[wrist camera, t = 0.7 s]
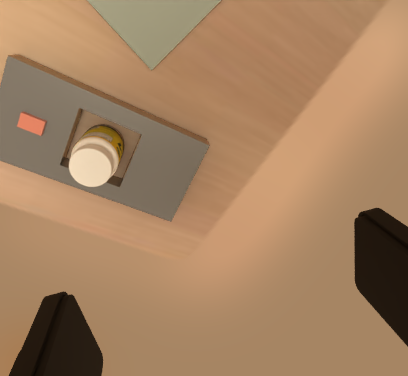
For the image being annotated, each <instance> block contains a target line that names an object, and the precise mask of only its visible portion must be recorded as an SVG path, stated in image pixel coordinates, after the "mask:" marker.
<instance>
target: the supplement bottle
mask: <svg viewBox="0 0 408 376" xmlns="http://www.w3.org/2000/svg"><path fill="white" fill-rule="evenodd" d="M123 150H124V141H123V138H122V136H121V134H120V133H119V132H118V131H117V130H116V129H115V128H113V127H111V126H108V125H96V126H93V127H91V128H90V129H89V130H88V131H87V132H86V133H85V134H84V135H83V136H82V137H81V139H80V140H79V141H78V142H77V143H76V145H75V146H74V148H73V150H72V153H71V158H70V161H69V171H70V173H71V175H72V177H73V178H74V179H75V180H76V181H77V182H78V183H80V184H82V185H84V186H88V187H97V186H100V185H102V184H104V183H105V182H107V181H108V179H109V178H110V177H111V176H112V175H113V174H114V173H115V172H116V170H117V168H118V165H119V162H120V159H121V156H122V154H123Z"/></svg>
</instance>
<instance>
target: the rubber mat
mask: <svg viewBox="0 0 408 376" xmlns="http://www.w3.org/2000/svg"><path fill="white" fill-rule="evenodd" d="M87 1H88V2H89V3H90V4H91V5H92V6H93V7H94V8H95V9H96V11H97V12H98V13H99V14H100V15H101V16H102V17H103V18H104V19H105V20H106V21H107V22H108V24H109V25H110V26H111V27H112V28H113V29H114V30H115V31H116V32H117V33H118V34H119V36H120V37H121V38H122V39H123V40H124V41H125V42H126V43H127V44H128V45H129V46H130V47H131V49H132V50H133V51H134V52H135V53H136V54H137V55H138V56H139V57H140V58H141V59H142V61H143V62H144V63H145V64H146V65H147V66H148V67H149V68H150V69H151V70H153V69H154V68H155V67H156V66H157V65H158V64H159V63H160V62H161V61H162V60H163V59H164V58H165V57H166V56H167V55H168V54H169V53H170V52H171V51H172V50H173V49H174V48H175V47H176V46H177V45H178V43H179V42H180V41H181V40H182V39H183V38H184V37H185V36H186V35H187V34H188V33H189V32H190V31H191V30H192V29H193V28H194V27H195V26H196V25H197V24H198V23H199V22H200V21H201V20H202V19H203V18H204V17H205V16H206V15H207V14H208V13H209V12H210V11H211V10H212V9H213V8H214V7H215V6H216V5H217V4H218V3H219V2H220V1H221V0H87Z"/></svg>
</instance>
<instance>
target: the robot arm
mask: <svg viewBox="0 0 408 376" xmlns="http://www.w3.org/2000/svg"><path fill="white" fill-rule="evenodd" d="M354 224H355V225H354V226H355V283H356V286H357V288H358V290H359V291H360V293H361V294H362V295H363V296H364V297H365V298H366V300H367V301H368V302H369V303H370V304H371V305H372V306H373V307H374V309H375V310H376V311H377V312H378V313H379V314H380V315H381V317H382V318H383V319H384V320H385V321H386V322H387V323H388V324H389V326H390V327H391V328H392V329H393V330H394V331H395V332H396V333H397V335H398V336H399V337H400V338H401V339H402V340H403V341H404V343H405V344H406V345H407V346H408V227H407V226H406V225H404V224H403V223H401V222H400V221H398V220H396V219H395V218H394V217H392V216H391V215H389V214H388V213H386V212H385V211H383V210H382V209H380V208H374V209H371V210H367V211H363V212H360V213H359V215H358V218H356V219H355V223H354ZM102 368H103V356H102V353H101V350H100V348H99V346H98V344H97V342H96V340H95V338H94V336H93V334H92V332H91V330H90V328H89V326H88V324H87V322H86V320H85V318H84V316H83V314H82V311H81V309H80V307H79V305H78V303H77V301H76V299H75V298H74V296H73V295H68V294H67V293H66V292H60V293H57V294H53V295H49V296H46V297H45V298H44V299H43V301H42V303H41V305H40V308H39V310H38V312H37V315H36V317H35V319H34V322H33V324H32V326H31V329H30V331H29V333H28V336H27V338H26V340H25V342H24V345H23V347H22V350H21V351H20V352H19V354H18V356H17V358H16V360H15V362H14V365H13V367H12V369H11V372H10V374H9V376H101V374H102Z"/></svg>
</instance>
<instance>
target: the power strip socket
mask: <svg viewBox="0 0 408 376" xmlns="http://www.w3.org/2000/svg"><path fill="white" fill-rule="evenodd" d="M82 109H83V110H85V111H88V112H90V113H92V114H95V115H97V116H99V117H102V118H104V119H106V120H109V121H111V122H113V123H116V124H118V125H120V126H123V127H125V128H127V129H130V130H132V131H134V132H137V133H139V134H141V136H140V138H139V140H138V143H137V145H136V148H135V150H134V152H133V155H132V157H131V159H130V162H129V164H128V167H127V169H126V171H125V174H124V176H123V178H122V179H120V178H118V177H115V176H113V175H112V176H111V177H110V178H109V179H108V181H107V182H105V183H104V184H102V185H100V186H97V187H88V186H84V185H82V184H80V183H78V182H77V181H76V180H75V179H74V178H73V177H72V175H71V173H70V171H69V161H70V159H68V158H66V156H67V153H68V150H69V147H70V144H71V141H72V138H73V135H74V132H75V130H76V127H77V124H78V121H79V118H80V115H81V112H82ZM209 146H210V145H209V143H208V141H207V139H204V138H202V137H200V136H198V135H196V134H193V133H191V132H189V131H187V130H185V129H182V128H180V127H178V126H176V125H173V124H171V123H169V122H167V121H165V120H162V119H160V118H158V117H156V116H154V115H151V114H149V113H147V112H145V111H142V110H140V109H138V108H136V107H134V106H131V105H129V104H127V103H125V102H123V101H120V100H118V99H116V98H114V97H111V96H109V95H107V94H105V93H103V92H100V91H98V90H96V89H94V88H92V87H89V86H87V85H85V84H83V83H80V82H78V81H76V80H74V79H72V78H69V77H67V76H65V75H63V74H61V73H58V72H56V71H54V70H52V69H49V68H47V67H45V66H43V65H41V64H38V63H36V62H34V61H32V60H30V59H27V58H25V57H23V56H21V55H8V57H7V61H6V65H5V69H4V73H3V78H2V82H1V86H0V161H3V162H5V163H8V164H11V165H14V166H17V167H19V168H22V169H25V170H28V171H31V172H33V173H36V174H39V175H42V176H45V177H47V178H50V179H53V180H56V181H59V182H61V183H64V184H67V185H70V186H73V187H75V188H78V189H81V190H84V191H87V192H89V193H92V194H95V195H98V196H101V197H103V198H106V199H109V200H112V201H115V202H117V203H120V204H123V205H126V206H129V207H131V208H134V209H137V210H140V211H143V212H145V213H148V214H151V215H154V216H157V217H159V218H162V219H165V220H168V221H172V219H173V217H174V215H175V213H176V211H177V209H178V207H179V205H180V203H181V201H182V199H183V197H184V195H185V193H186V191H187V189H188V187H189V185H190V183H191V181H192V180H193V178H194V176H195V174H196V172H197V170H198V168H199V166H200V164H201V162H202V160H203V158H204V156H205V154H206V152H207V150H208V148H209Z"/></svg>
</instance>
